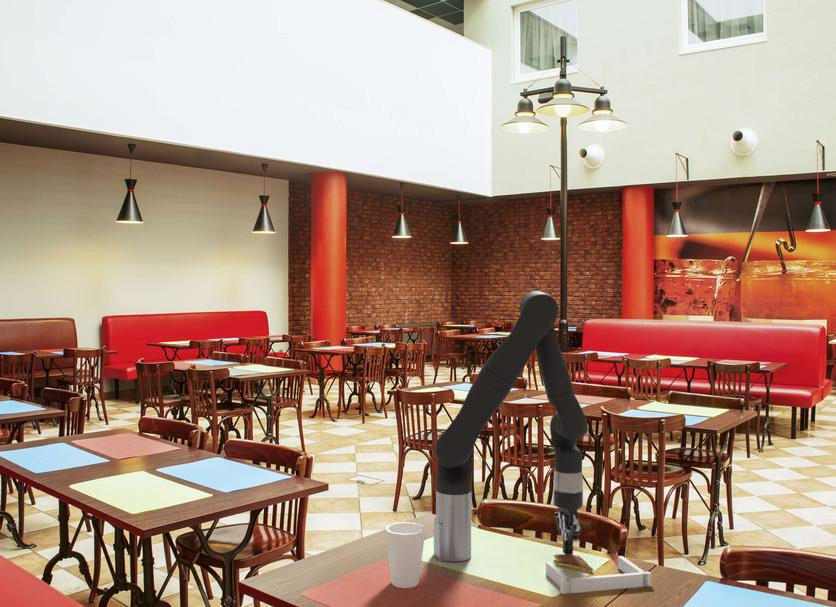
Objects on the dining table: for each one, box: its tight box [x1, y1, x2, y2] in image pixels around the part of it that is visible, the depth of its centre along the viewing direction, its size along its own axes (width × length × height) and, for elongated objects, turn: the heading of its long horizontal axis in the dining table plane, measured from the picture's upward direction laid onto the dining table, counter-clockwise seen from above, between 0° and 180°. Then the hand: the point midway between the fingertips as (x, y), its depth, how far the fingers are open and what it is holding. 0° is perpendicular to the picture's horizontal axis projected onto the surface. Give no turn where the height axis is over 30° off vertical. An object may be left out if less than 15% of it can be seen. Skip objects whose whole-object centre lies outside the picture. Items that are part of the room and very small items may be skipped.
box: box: [545, 555, 652, 595], centre depth 178 cm, size 22×12×3 cm, turn 103°
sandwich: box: [553, 553, 594, 574], centre depth 187 cm, size 11×8×2 cm
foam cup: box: [384, 521, 426, 589], centre depth 176 cm, size 10×9×13 cm
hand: (567, 553), depth 194 cm, fingers closed
